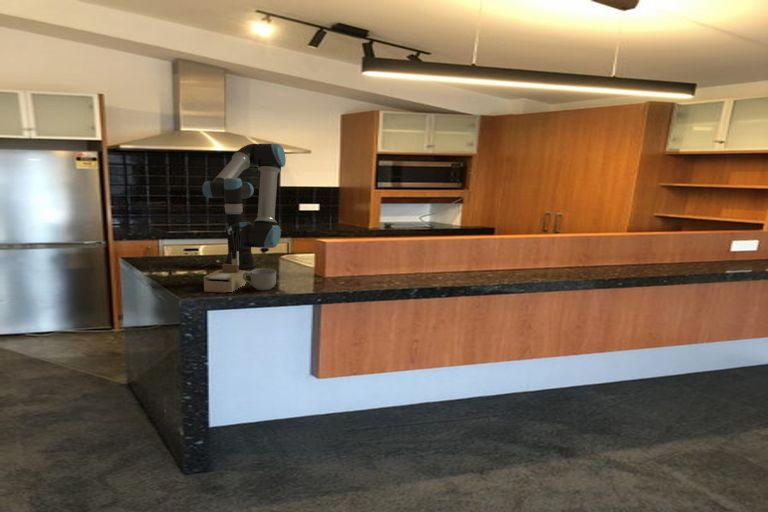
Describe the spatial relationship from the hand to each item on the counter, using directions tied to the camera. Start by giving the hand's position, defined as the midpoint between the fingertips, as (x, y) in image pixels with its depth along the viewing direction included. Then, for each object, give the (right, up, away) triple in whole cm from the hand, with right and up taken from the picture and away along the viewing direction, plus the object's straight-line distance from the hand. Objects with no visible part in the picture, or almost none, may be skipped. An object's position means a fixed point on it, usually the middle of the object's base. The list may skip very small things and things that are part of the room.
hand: (235, 265), depth 237 cm
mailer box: (-1, -9, -10) cm, 14 cm away
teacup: (+14, -10, -10) cm, 20 cm away
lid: (-1, -4, -11) cm, 12 cm away
